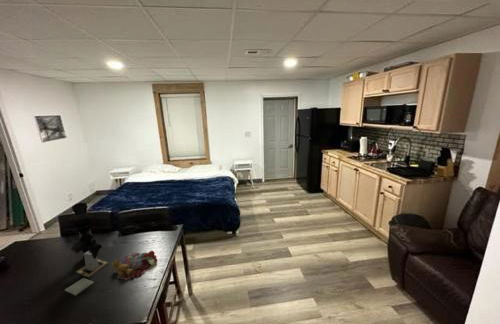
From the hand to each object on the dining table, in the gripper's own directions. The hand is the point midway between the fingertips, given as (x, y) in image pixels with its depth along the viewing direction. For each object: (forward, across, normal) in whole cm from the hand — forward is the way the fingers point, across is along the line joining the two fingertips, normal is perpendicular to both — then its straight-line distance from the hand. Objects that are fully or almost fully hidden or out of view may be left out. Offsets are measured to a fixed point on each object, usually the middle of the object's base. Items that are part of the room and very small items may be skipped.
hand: (90, 256), depth 137 cm
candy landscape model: (+9, +26, +12) cm, 30 cm away
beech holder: (+9, 0, 0) cm, 9 cm away
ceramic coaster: (+9, +9, -13) cm, 18 cm away
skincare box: (+9, 0, 0) cm, 9 cm away
